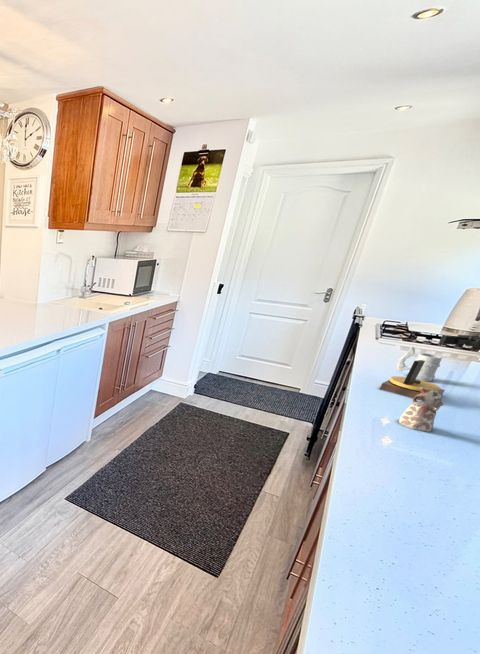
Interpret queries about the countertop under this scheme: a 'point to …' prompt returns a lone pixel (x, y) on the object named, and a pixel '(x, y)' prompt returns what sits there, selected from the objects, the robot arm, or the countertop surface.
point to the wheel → (414, 379)
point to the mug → (428, 367)
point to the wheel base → (403, 390)
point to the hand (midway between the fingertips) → (442, 339)
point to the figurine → (422, 411)
